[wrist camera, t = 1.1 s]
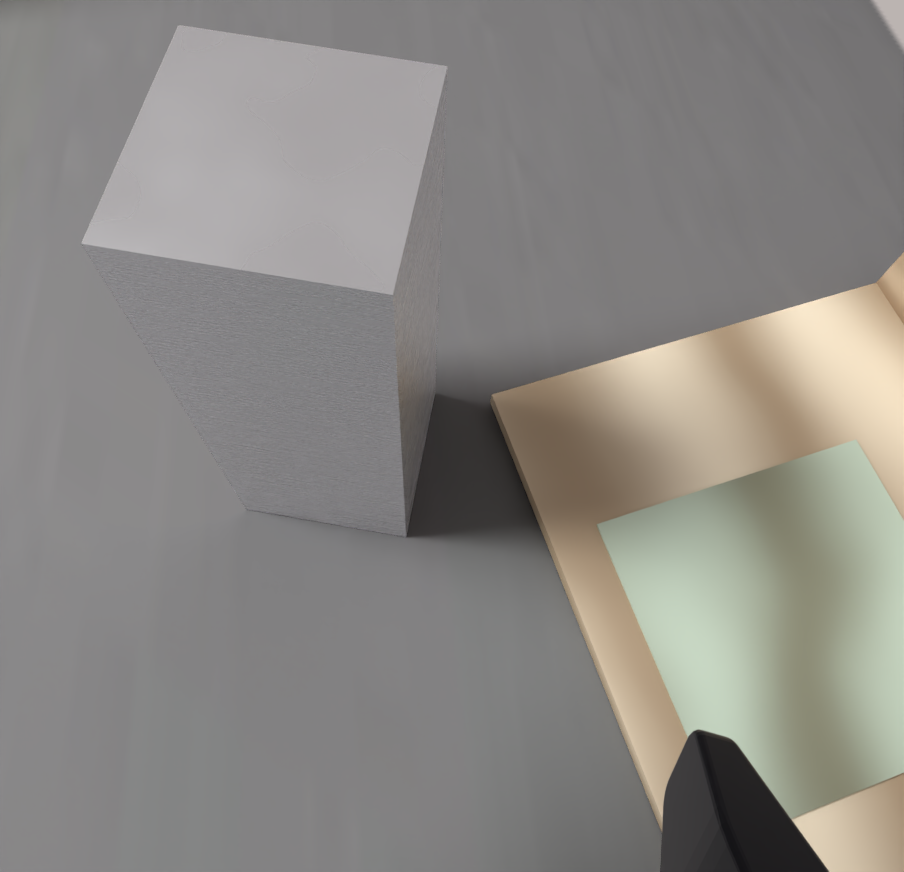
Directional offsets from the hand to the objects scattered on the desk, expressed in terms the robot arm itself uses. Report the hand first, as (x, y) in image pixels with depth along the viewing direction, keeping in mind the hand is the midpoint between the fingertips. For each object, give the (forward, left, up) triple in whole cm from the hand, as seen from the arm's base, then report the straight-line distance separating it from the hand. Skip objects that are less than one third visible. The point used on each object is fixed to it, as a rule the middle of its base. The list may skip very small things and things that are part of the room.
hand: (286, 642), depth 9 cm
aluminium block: (+2, +8, -14) cm, 17 cm away
